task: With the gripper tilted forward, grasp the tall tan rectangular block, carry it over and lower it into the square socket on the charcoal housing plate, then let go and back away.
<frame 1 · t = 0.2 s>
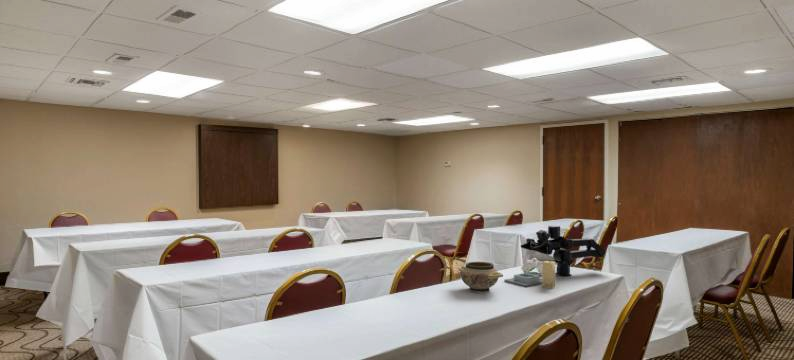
hand: (526, 247, 245), 17 cm above the table, tool horizontal, fingers open, 9 cm apart
tan rectangular block: (548, 286, 227), on the table
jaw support: (535, 274, 258), on the table
housing plate: (526, 282, 237), on the table
ceramic bowl: (479, 290, 220), on the table
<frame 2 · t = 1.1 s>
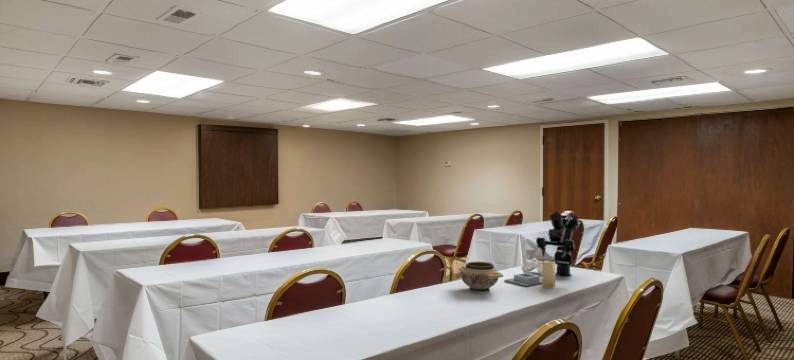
hand: (552, 256, 233), 14 cm above the table, tool tilted 45°, fingers open, 9 cm apart
nothing on the table moved.
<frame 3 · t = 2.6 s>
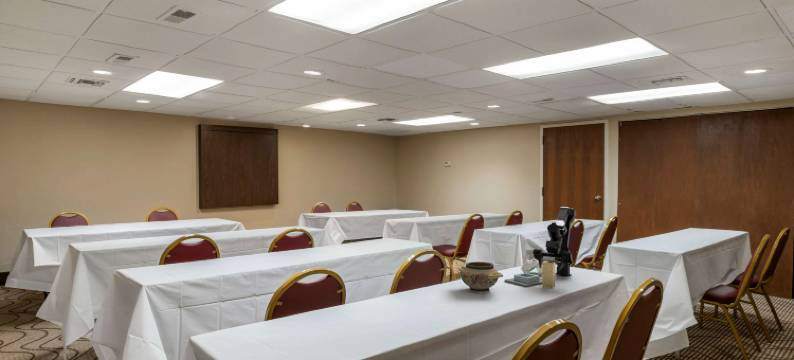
hand: (549, 269, 228), 9 cm above the table, tool tilted 45°, fingers open, 9 cm apart
nothing on the table moved.
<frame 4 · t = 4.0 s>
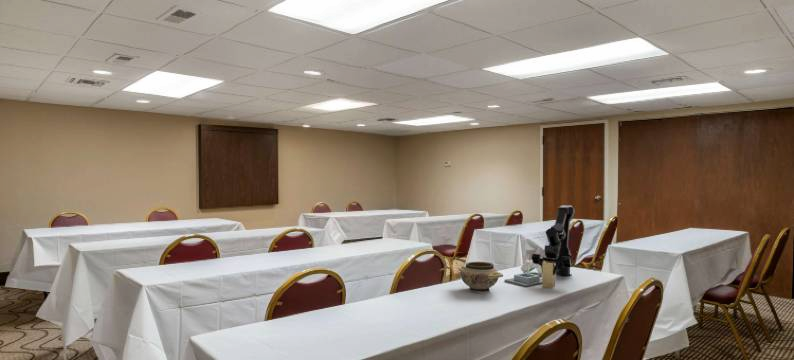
hand: (548, 274, 226), 7 cm above the table, tool tilted 45°, fingers closed on tan rectangular block, 5 cm apart
tan rectangular block: (548, 286, 227), on the table, touching gripper
everything else where it was.
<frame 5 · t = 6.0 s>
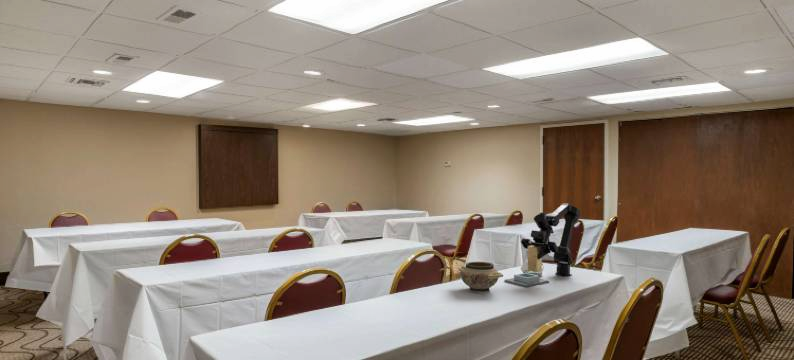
hand: (533, 258, 232), 13 cm above the table, tool tilted 45°, fingers closed on tan rectangular block, 5 cm apart
tan rectangular block: (534, 270, 233), point 7 cm above the table, touching gripper
when the fingers open (9 cm above the table, at t = 7.9 s): tan rectangular block drops 1 cm, resting on housing plate.
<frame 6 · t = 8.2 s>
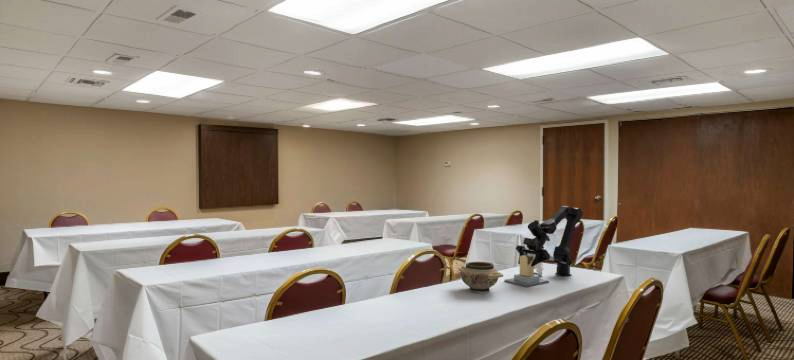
hand: (524, 265, 236), 9 cm above the table, tool tilted 45°, fingers open, 8 cm apart
tan rectangular block: (526, 280, 237), point 1 cm above the table, touching housing plate
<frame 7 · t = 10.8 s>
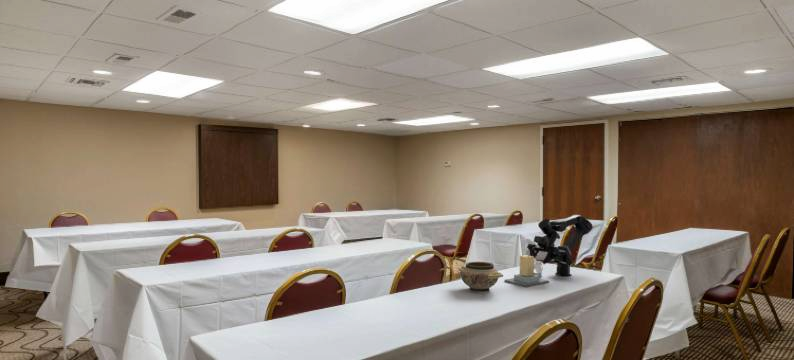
hand: (536, 262, 241), 9 cm above the table, tool tilted 45°, fingers open, 9 cm apart
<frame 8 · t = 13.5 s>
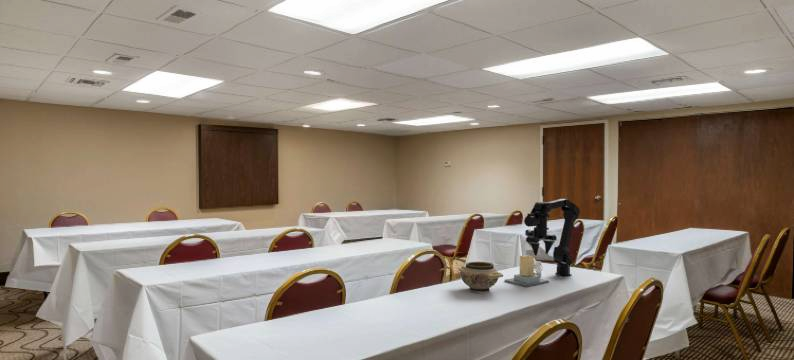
hand: (541, 254, 245), 13 cm above the table, tool pointing down, fingers open, 9 cm apart
at the end: tan rectangular block 0.0 cm off-centre on the housing plate, point 1.0 cm above the housing plate's base; tan rectangular block tilted 0°; the gripper is holding nothing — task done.
